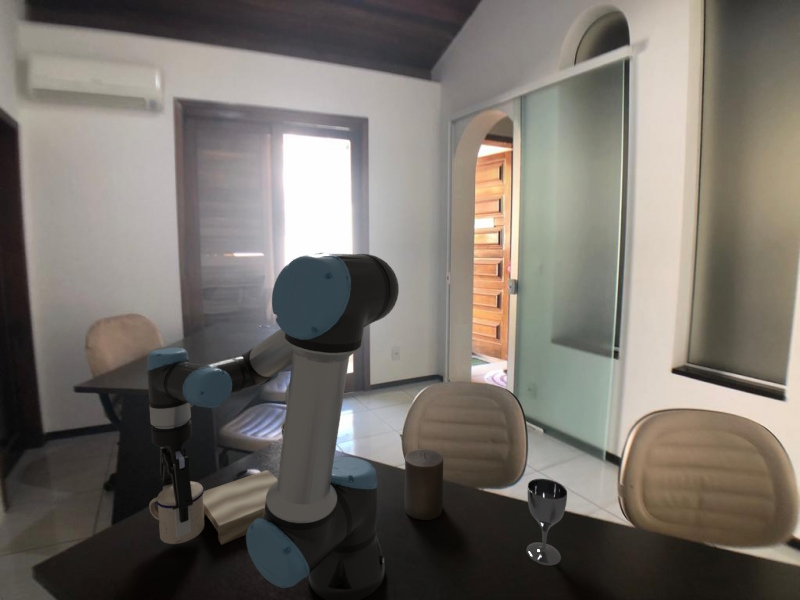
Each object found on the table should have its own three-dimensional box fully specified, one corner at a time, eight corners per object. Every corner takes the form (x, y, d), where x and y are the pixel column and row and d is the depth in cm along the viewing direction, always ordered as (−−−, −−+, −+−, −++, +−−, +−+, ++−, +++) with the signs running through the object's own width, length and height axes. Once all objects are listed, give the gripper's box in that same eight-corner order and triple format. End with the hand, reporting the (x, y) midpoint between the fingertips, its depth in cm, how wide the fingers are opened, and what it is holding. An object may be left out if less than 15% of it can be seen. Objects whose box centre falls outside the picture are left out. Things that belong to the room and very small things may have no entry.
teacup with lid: (214, 521, 97) (211, 472, 96) (188, 548, 88) (185, 494, 87) (166, 515, 99) (163, 467, 98) (136, 541, 90) (132, 489, 89)
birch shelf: (295, 514, 105) (295, 495, 105) (219, 547, 94) (219, 525, 93) (267, 487, 117) (267, 469, 117) (197, 512, 106) (196, 493, 105)
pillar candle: (449, 515, 106) (451, 457, 105) (414, 524, 102) (415, 464, 101) (430, 495, 115) (432, 441, 114) (397, 503, 111) (398, 447, 109)
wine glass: (537, 570, 88) (541, 501, 87) (517, 544, 96) (520, 481, 94) (571, 563, 90) (575, 496, 89) (548, 538, 98) (552, 476, 96)
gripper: (206, 433, 85) (211, 540, 87) (177, 404, 101) (182, 495, 103) (164, 444, 80) (170, 557, 82) (140, 412, 96) (146, 507, 98)
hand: (177, 522), depth 93 cm, fingers closed on teacup with lid, 9 cm apart
